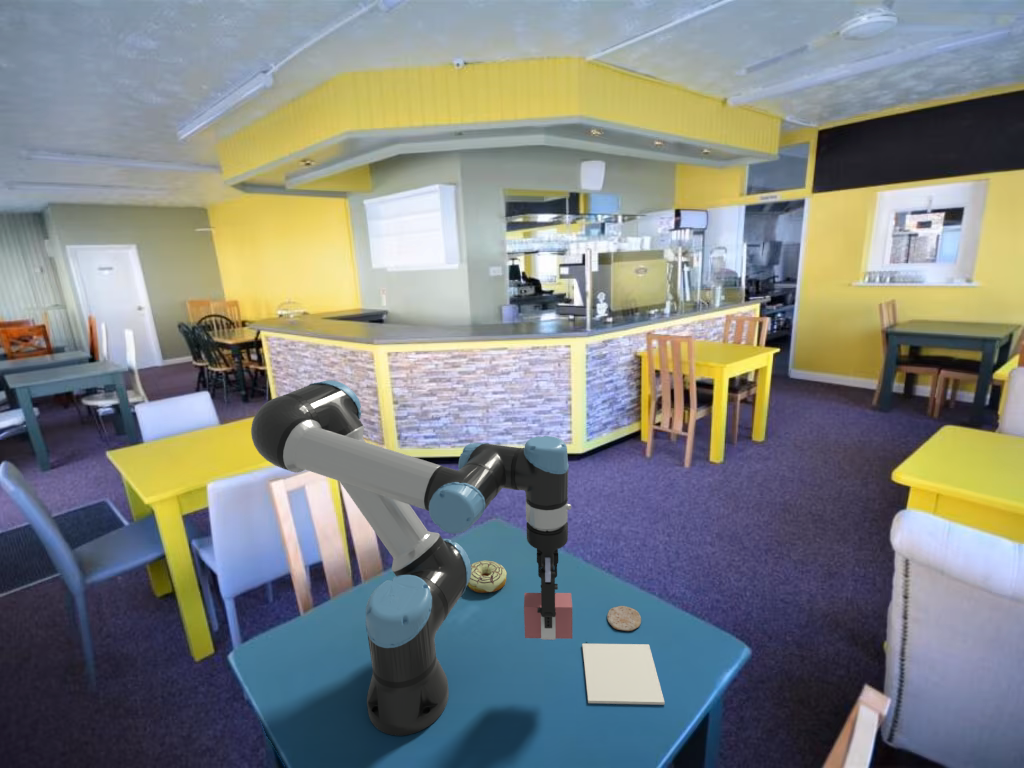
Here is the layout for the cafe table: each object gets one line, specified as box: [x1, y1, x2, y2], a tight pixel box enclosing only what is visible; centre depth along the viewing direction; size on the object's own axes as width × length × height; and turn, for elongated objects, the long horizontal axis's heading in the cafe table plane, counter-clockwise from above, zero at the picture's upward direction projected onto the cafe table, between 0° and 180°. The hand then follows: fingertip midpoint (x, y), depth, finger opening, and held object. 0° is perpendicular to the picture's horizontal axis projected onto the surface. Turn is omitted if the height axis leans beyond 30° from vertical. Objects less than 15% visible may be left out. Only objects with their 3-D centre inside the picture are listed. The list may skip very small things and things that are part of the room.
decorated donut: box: [467, 560, 508, 594], centre depth 129 cm, size 10×11×4 cm
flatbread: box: [606, 605, 642, 632], centre depth 114 cm, size 8×8×1 cm
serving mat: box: [581, 643, 665, 706], centre depth 100 cm, size 14×14×1 cm
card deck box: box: [523, 592, 573, 640], centre depth 96 cm, size 9×4×7 cm, turn 87°
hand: (548, 628), depth 97 cm, fingers closed on card deck box, 4 cm apart
